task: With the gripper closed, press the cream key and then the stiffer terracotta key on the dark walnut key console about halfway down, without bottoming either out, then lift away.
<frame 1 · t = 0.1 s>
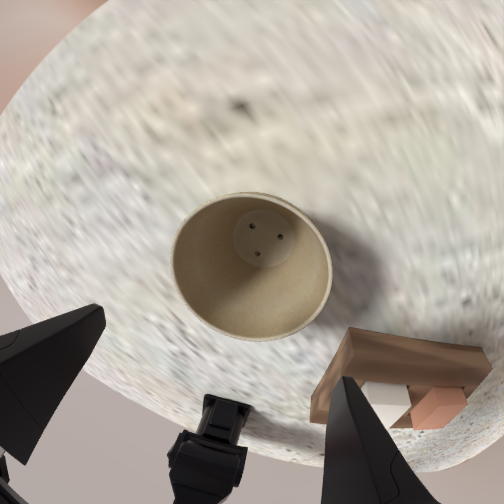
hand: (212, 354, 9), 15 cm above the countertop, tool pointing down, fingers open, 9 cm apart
key console: (402, 376, 26), on the countertop
terracotta key: (438, 408, 21), point 5 cm above the countertop, slide at 0.0 cm
flower pot: (264, 235, 23), on the countertop
cream key: (377, 407, 22), point 5 cm above the countertop, slide at 0.0 cm
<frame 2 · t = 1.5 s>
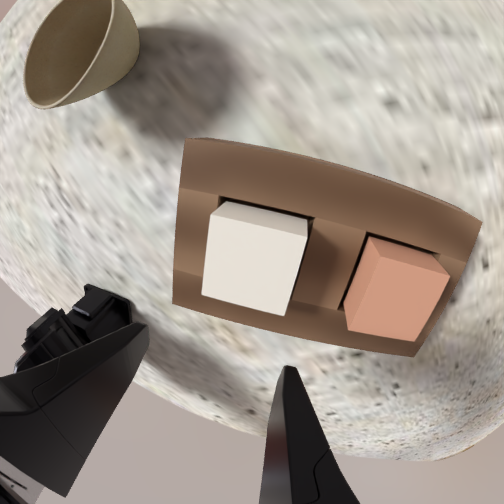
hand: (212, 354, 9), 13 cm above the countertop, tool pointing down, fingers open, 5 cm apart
key console: (324, 243, 20), on the countertop
terracotta key: (394, 291, 15), point 5 cm above the countertop, slide at 0.0 cm
flower pot: (118, 56, 16), on the countertop
cream key: (254, 257, 16), point 5 cm above the countertop, slide at 0.0 cm
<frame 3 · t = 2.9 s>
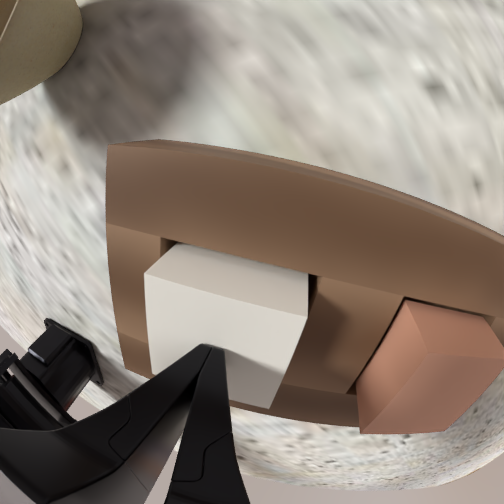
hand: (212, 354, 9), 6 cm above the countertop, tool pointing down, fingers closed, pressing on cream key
key console: (331, 294, 13), on the countertop
terracotta key: (431, 375, 9), point 5 cm above the countertop, slide at 0.0 cm
flower pot: (60, 42, 10), on the countertop
cream key: (224, 327, 10), point 4 cm above the countertop, slide at 0.7 cm, touching gripper
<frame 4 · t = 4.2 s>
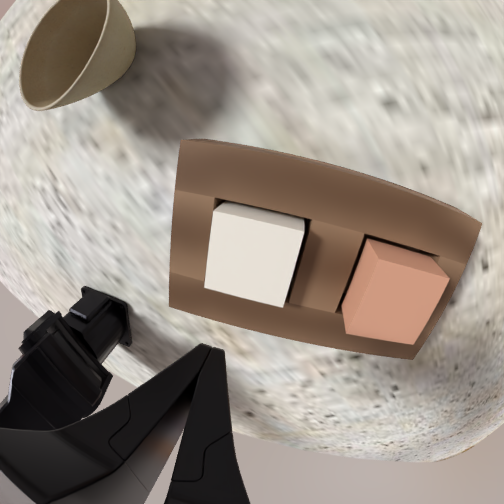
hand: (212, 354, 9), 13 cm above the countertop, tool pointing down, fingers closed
key console: (321, 245, 20), on the countertop
terracotta key: (393, 293, 15), point 5 cm above the countertop, slide at 0.0 cm
flower pot: (114, 57, 16), on the countertop
cream key: (254, 251, 17), point 4 cm above the countertop, slide at 1.2 cm
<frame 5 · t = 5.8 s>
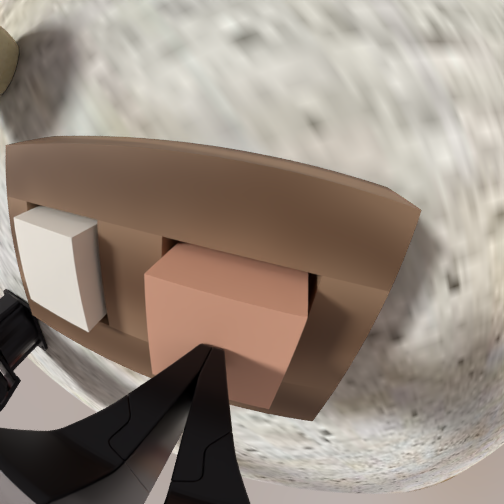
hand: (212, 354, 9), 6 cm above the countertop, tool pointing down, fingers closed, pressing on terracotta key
key console: (168, 252, 14), on the countertop
terracotta key: (224, 327, 10), point 4 cm above the countertop, slide at 0.5 cm, touching gripper
flower pot: (8, 68, 11), on the countertop
cream key: (64, 261, 11), point 4 cm above the countertop, slide at 1.2 cm
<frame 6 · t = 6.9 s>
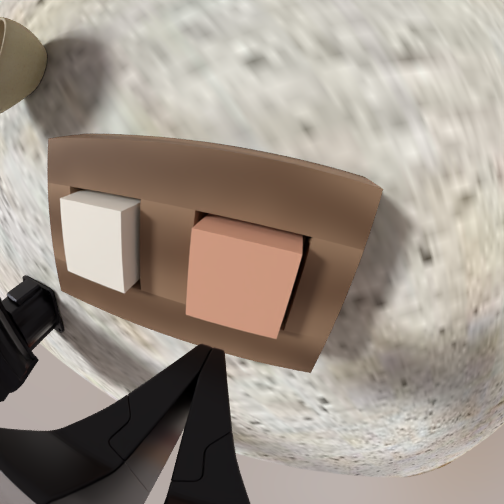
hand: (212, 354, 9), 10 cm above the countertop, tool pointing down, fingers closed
key console: (190, 230, 18), on the countertop
terracotta key: (243, 273, 14), point 4 cm above the countertop, slide at 1.2 cm
flower pot: (35, 70, 14), on the countertop
cream key: (104, 236, 15), point 4 cm above the countertop, slide at 1.2 cm
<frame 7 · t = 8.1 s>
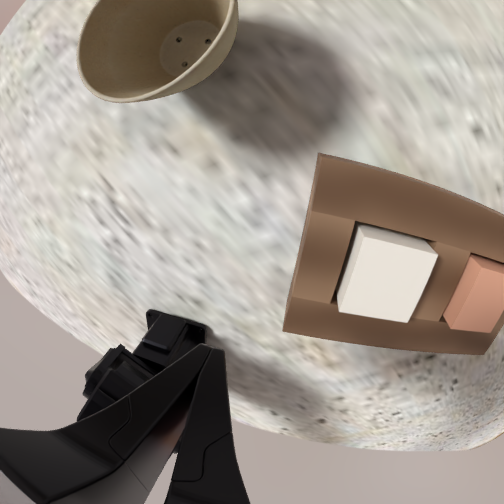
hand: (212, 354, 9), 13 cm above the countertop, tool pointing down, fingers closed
key console: (420, 260, 19), on the countertop
terracotta key: (479, 293, 15), point 4 cm above the countertop, slide at 1.2 cm
flower pot: (193, 49, 15), on the countertop
cream key: (383, 272, 16), point 4 cm above the countertop, slide at 1.2 cm
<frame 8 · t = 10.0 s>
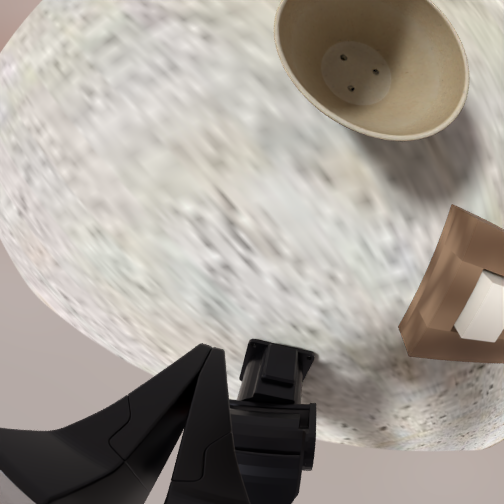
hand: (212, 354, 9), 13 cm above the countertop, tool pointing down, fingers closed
key console: (494, 291, 18), on the countertop
flower pot: (355, 73, 15), on the countertop
cream key: (486, 305, 15), point 4 cm above the countertop, slide at 1.2 cm
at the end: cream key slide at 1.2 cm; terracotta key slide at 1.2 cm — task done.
